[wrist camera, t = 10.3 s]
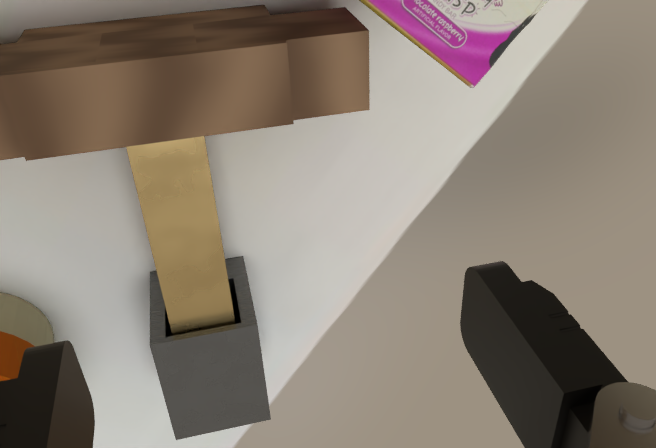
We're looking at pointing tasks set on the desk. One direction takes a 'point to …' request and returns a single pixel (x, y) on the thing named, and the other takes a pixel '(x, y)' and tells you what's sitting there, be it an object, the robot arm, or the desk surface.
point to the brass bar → (183, 232)
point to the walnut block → (177, 78)
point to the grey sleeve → (211, 364)
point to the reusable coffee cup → (19, 333)
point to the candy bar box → (459, 29)
